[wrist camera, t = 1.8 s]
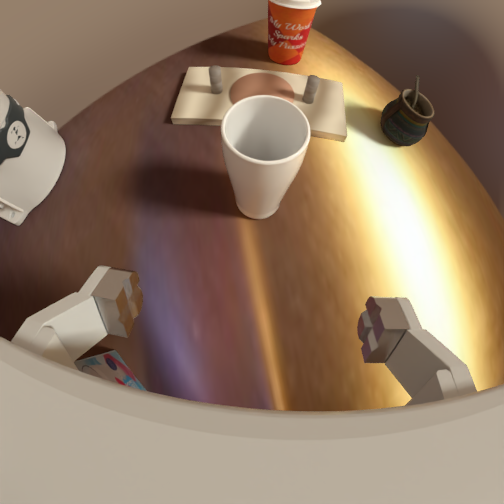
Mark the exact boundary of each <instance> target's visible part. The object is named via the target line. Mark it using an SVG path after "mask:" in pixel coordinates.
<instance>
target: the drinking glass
mask: <svg viewBox="0 0 504 504" xmlns="http://www.w3.org/2000/svg"><path fill="white" fill-rule="evenodd" d="M309 140H310V125H309V122H308V120H307V118H306V116H305V115H304V113H303V112H302V111H301V110H300V109H299V108H298V107H297V106H296V105H294V104H293V103H291V102H289V101H287V100H285V99H283V98H280V97H276V96H271V95H256V96H251V97H247V98H244V99H242V100H240V101H238V102H236V103H235V104H234V105H232V106H231V107H230V108H229V109H228V110H227V112H226V113H225V115H224V117H223V119H222V123H221V142H222V152H223V157H224V162H225V166H226V169H227V172H228V175H229V178H230V181H231V185H232V188H233V191H234V194H235V200H236V204H237V207H238V208H239V210H240V211H241V212H242V213H243V214H244V215H246V216H247V217H250V218H253V219H264V218H267V217H269V216H271V215H272V214H274V213H275V212H276V210H277V209H278V207H279V205H280V202H281V200H282V198H283V197H284V195H285V193H286V191H287V190H288V188H289V186H290V185H291V183H292V181H293V180H294V178H295V176H296V175H297V173H298V171H299V169H300V167H301V165H302V162H303V159H304V157H305V154H306V151H307V147H308V143H309Z"/></svg>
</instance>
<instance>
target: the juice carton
mask: <svg viewBox="0 0 504 504" xmlns="http://www.w3.org/2000/svg"><path fill="white" fill-rule="evenodd" d="M74 364H75V365H76V367H77V368H78V370H79V371H80V372H83V373H86V374H89V375H92V376H95V377H98V378H101V379H104V380H108V381H111V382H114V383H118V384H121V385H125V386H128V387H132V388H136V389H140V390H144V391H147V390H146V389H145V388H144V387H143V386H142V384H141V383H140V382H139V381H138V379H137V378H136V377H135V376H134V374H133V373H132V372H131V370H130V369H129V368H128V366H127V365H126V364H125V362H124V361H123V360H122V358H121V357H120V356H119V354H118V353H117V351H116V350H113V351H110V352H106V353H103V354H99V355H96V356H92V357H88V358H85V359H81V360H77V361H74Z"/></svg>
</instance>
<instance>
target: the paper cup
mask: <svg viewBox="0 0 504 504" xmlns="http://www.w3.org/2000/svg"><path fill="white" fill-rule="evenodd" d="M319 5H321V1H320V0H268V53H269V57H270V59H271V60H272V61H274V62H276V63H278V64H282V65H293V64H296V63H298V62H299V61H300V59H301V57H302V54H303V50H304V47H305V44H306V41H307V38H308V34H309V31H310V28H311V24H312V21H313V18H314V15H315V11H316V8H317V7H318V6H319Z"/></svg>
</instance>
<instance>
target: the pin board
mask: <svg viewBox="0 0 504 504" xmlns="http://www.w3.org/2000/svg"><path fill="white" fill-rule="evenodd" d="M256 95H271V96H276V97H280V98H283V99H285V100H287V101H289V102H291V103H293V104H294V105H296V106H297V107H298V108H299V109H300V110H301V111H302V112H303V113H304V115H305V116H306V118H307V120H308V122H309V125H310V136H314V137H320V138H326V139H331V140H336V141H342V142H344V141H345V139H346V137H347V129H346V116H345V105H344V96H343V87H342V83H341V82H336V81H332V80H327V79H322V78H318V77H317V76H314V75H310V76H305V75H299V74H292V73H285V72H277V71H268V70H258V69H245V68H227V67H219V66H211V67H189V69H188V71H187V74H186V76H185V79H184V82H183V84H182V87H181V90H180V93H179V95H178V98H177V101H176V104H175V107H174V110H173V113H172V116H171V120H172V123H173V124H191V125H215V126H221V123H222V119H223V117H224V115H225V113H226V112H227V110H228V109H229V108H230V107H231V106H232V105H234V104H235V103H236V102H238V101H240V100H242V99H244V98H247V97H251V96H256Z"/></svg>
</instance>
